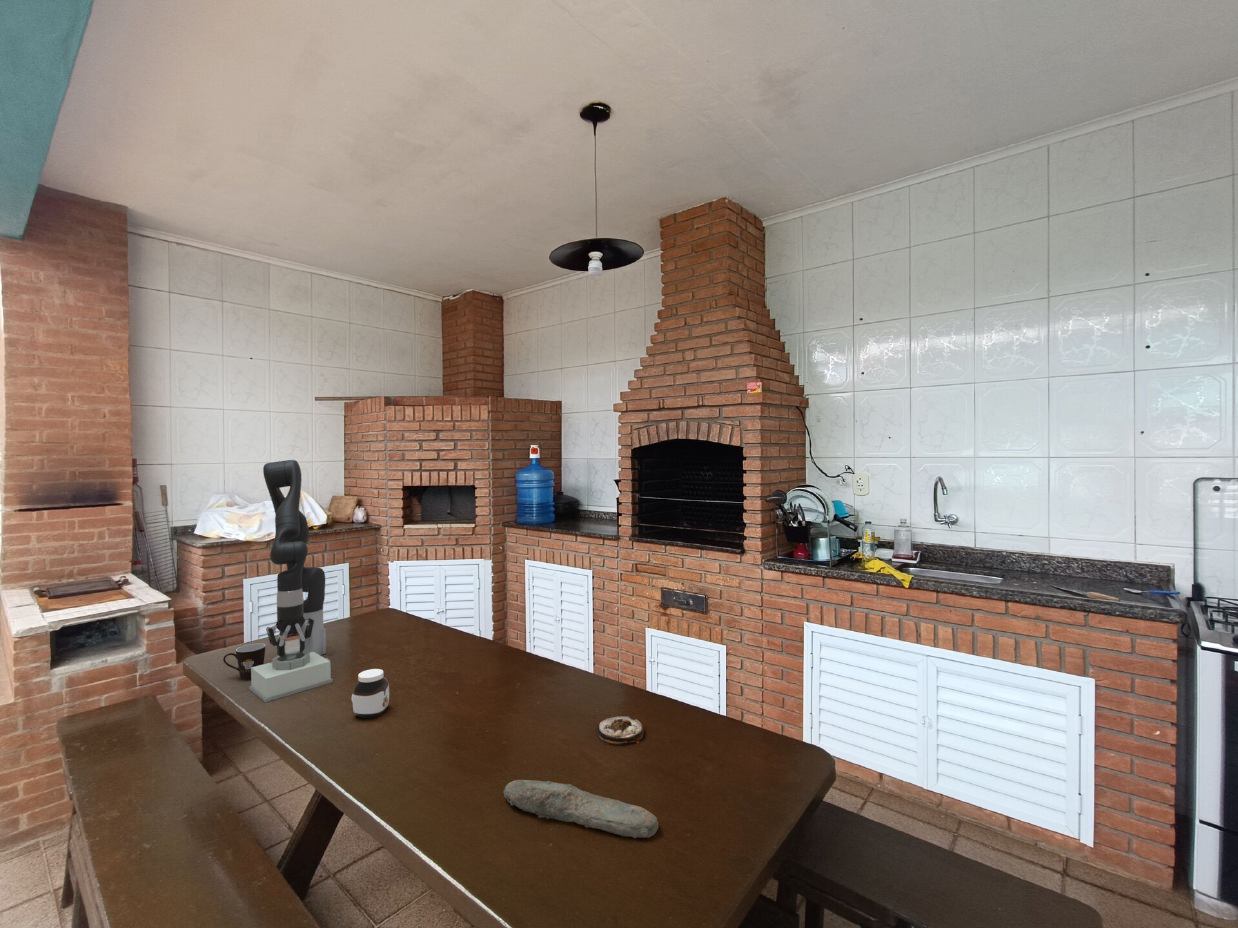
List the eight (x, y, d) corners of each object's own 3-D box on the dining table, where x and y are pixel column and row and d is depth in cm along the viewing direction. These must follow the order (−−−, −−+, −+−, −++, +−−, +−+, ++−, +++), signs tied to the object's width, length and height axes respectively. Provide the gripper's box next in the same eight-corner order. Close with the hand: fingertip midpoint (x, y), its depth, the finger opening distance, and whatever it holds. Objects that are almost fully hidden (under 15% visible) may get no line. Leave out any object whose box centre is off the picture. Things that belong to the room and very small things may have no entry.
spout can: (297, 654, 190) (296, 626, 190) (303, 658, 187) (302, 629, 186) (279, 659, 186) (278, 630, 186) (285, 663, 183) (284, 633, 182)
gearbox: (319, 669, 200) (318, 642, 200) (337, 680, 190) (337, 652, 190) (249, 688, 184) (248, 659, 184) (265, 702, 174) (264, 671, 174)
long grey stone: (648, 857, 109) (663, 828, 118) (650, 830, 109) (665, 802, 118) (492, 807, 121) (517, 784, 130) (494, 783, 121) (518, 761, 131)
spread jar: (372, 721, 161) (371, 680, 161) (337, 718, 163) (336, 677, 163) (397, 703, 173) (396, 665, 173) (364, 700, 175) (363, 662, 175)
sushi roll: (596, 751, 145) (596, 735, 145) (590, 724, 160) (590, 709, 160) (653, 746, 147) (653, 730, 147) (641, 720, 162) (641, 705, 162)
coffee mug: (272, 672, 198) (271, 643, 198) (253, 682, 189) (253, 652, 189) (241, 670, 199) (240, 642, 199) (221, 680, 191) (220, 651, 190)
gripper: (309, 596, 194) (309, 646, 194) (261, 605, 183) (262, 657, 183) (318, 600, 189) (318, 651, 189) (269, 609, 178) (270, 663, 178)
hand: (291, 654), depth 186 cm, fingers closed on spout can, 5 cm apart
